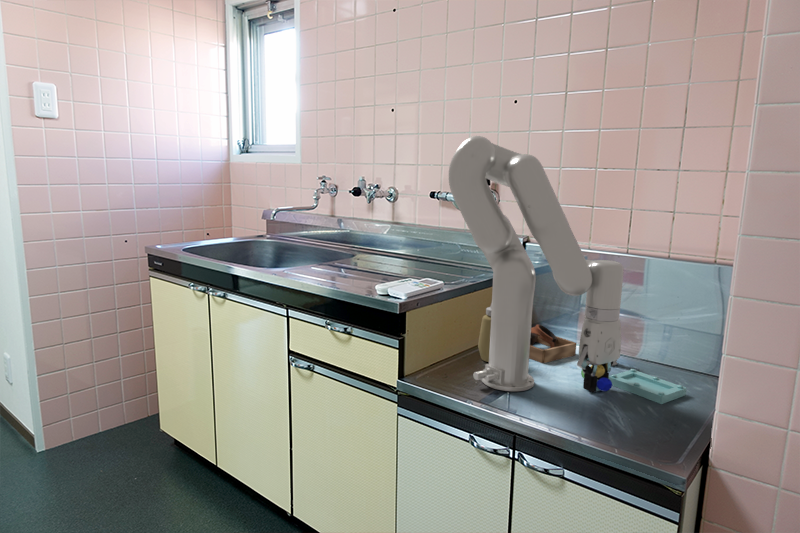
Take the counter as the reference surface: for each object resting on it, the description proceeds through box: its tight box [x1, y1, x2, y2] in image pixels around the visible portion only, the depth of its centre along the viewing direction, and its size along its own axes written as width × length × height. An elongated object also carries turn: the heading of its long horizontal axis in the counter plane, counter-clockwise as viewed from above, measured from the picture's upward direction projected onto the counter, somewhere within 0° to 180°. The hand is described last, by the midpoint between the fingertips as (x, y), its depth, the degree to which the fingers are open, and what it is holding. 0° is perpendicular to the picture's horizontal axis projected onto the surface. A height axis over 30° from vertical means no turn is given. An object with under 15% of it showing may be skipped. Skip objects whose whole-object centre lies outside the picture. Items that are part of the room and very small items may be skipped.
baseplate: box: [608, 368, 687, 405], centre depth 129 cm, size 10×14×2 cm
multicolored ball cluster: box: [580, 365, 613, 392], centre depth 127 cm, size 8×3×6 cm, turn 25°
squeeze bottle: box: [477, 302, 492, 363], centre depth 145 cm, size 8×8×18 cm
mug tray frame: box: [529, 335, 577, 364], centre depth 155 cm, size 14×16×4 cm
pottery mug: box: [530, 323, 558, 348], centre depth 156 cm, size 12×10×8 cm
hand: (595, 387), depth 128 cm, fingers open, 3 cm apart
